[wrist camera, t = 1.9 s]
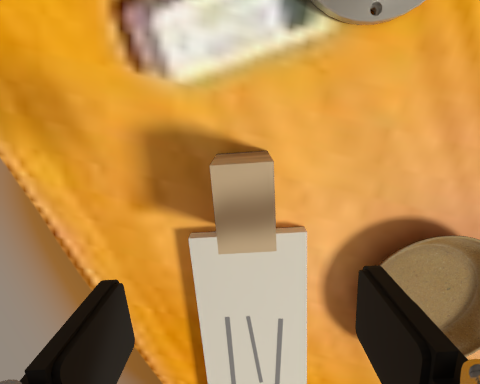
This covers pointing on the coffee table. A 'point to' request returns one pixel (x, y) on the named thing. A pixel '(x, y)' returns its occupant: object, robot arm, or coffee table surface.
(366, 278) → the robot arm
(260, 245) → the block
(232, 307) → the board
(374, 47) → the coffee table surface
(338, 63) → the coffee table surface
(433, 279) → the plant saucer
